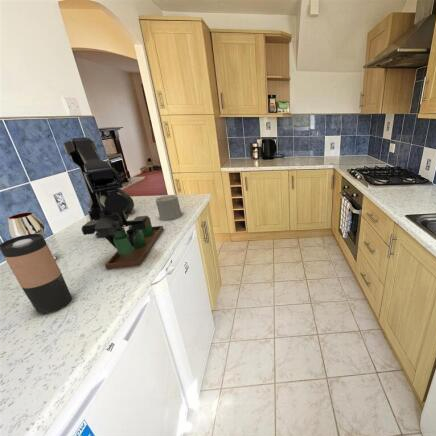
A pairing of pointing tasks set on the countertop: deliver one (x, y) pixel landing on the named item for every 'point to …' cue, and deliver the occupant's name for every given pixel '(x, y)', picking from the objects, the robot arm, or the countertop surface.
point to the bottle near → (148, 231)
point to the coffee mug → (168, 207)
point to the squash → (130, 202)
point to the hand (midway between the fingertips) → (125, 246)
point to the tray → (134, 253)
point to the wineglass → (25, 225)
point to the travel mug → (37, 272)
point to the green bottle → (123, 242)
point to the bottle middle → (139, 240)
